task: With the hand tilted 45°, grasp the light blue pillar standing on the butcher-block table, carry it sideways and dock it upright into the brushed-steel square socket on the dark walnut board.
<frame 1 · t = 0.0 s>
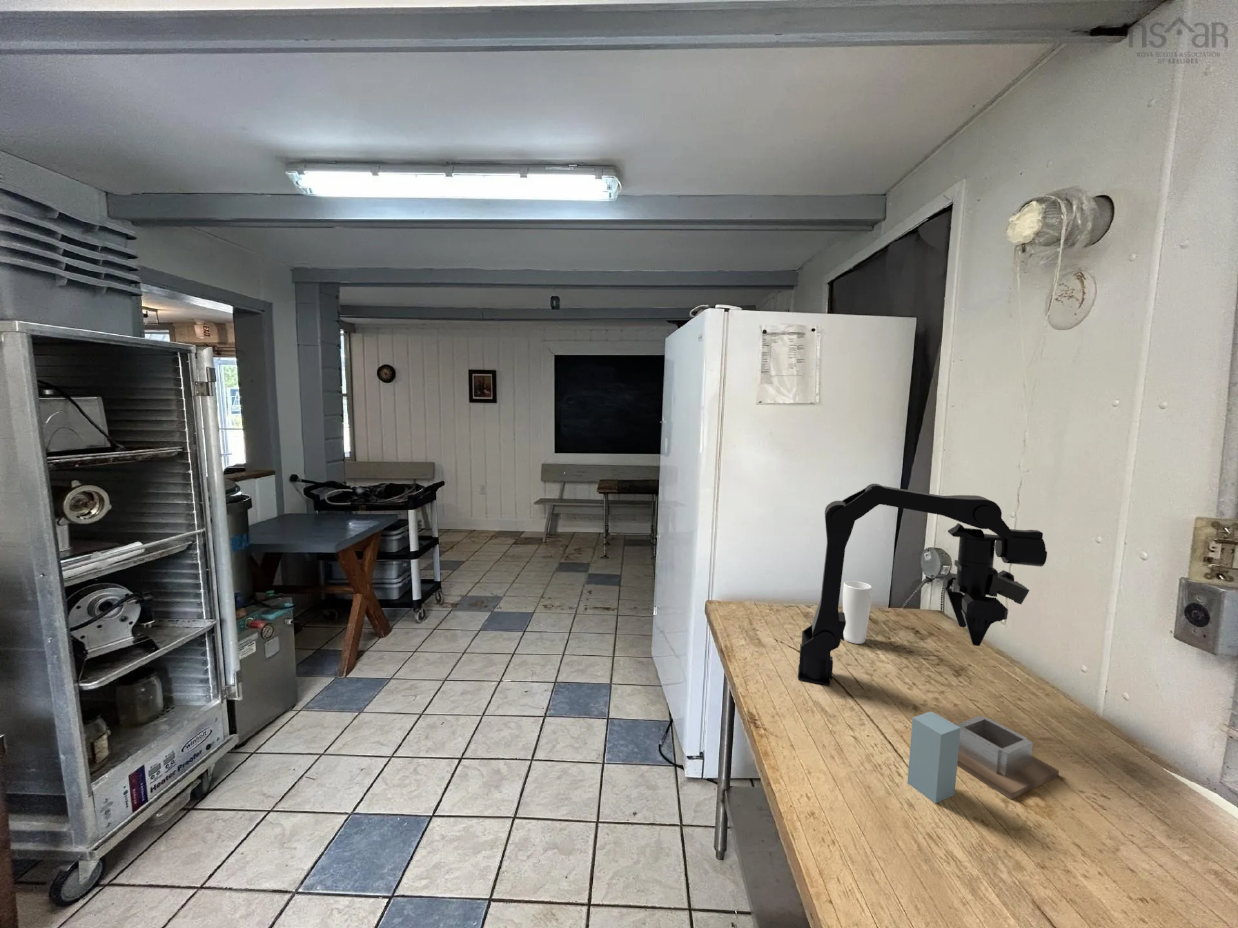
hand: (968, 635, 99), 15 cm above the table, tool pointing down, fingers open, 9 cm apart
docking socket: (990, 760, 83), on the table
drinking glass: (854, 640, 129), on the table
light blue pillar: (930, 788, 77), on the table
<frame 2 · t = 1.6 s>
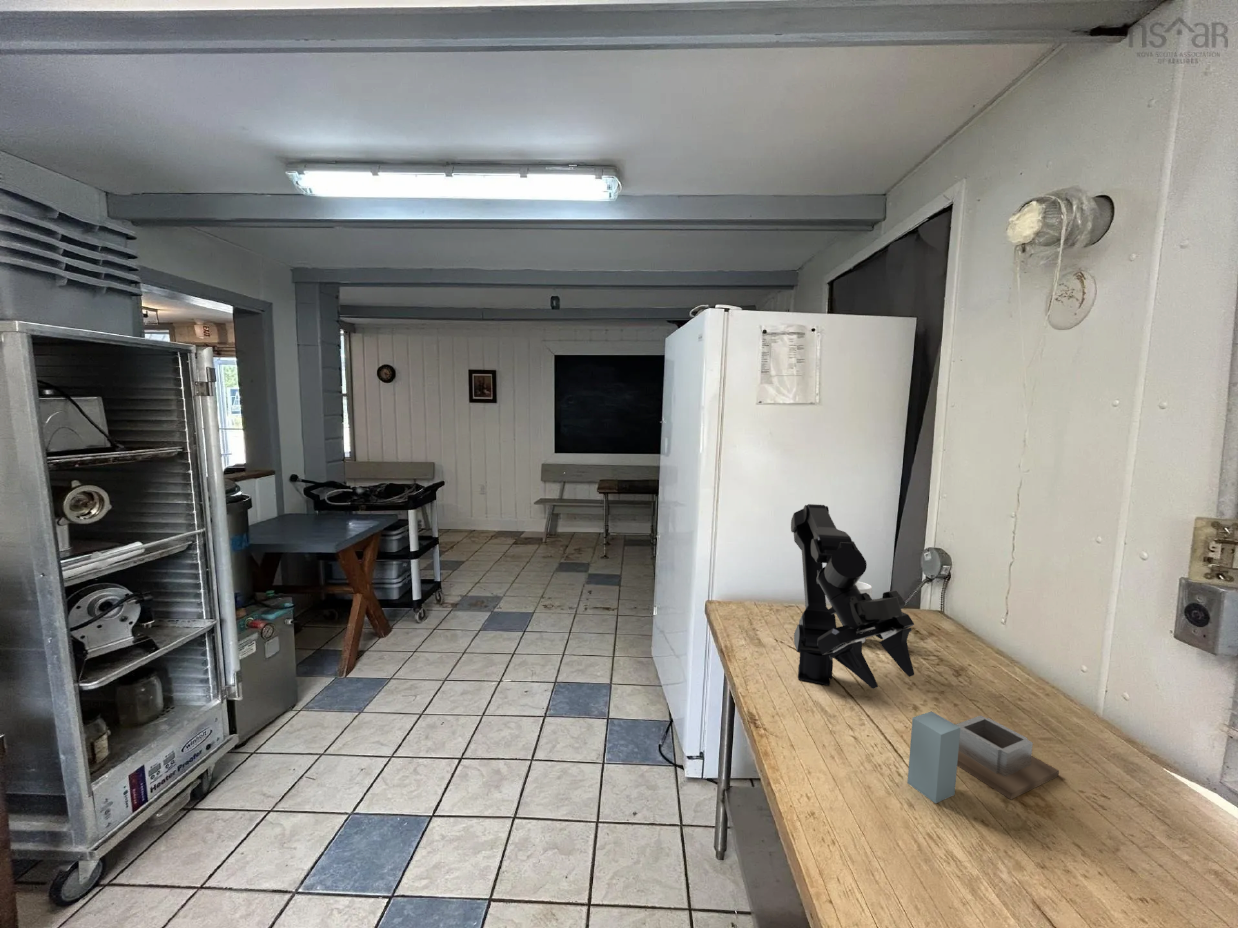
hand: (894, 681, 83), 13 cm above the table, tool tilted 45°, fingers open, 9 cm apart
nothing on the table moved.
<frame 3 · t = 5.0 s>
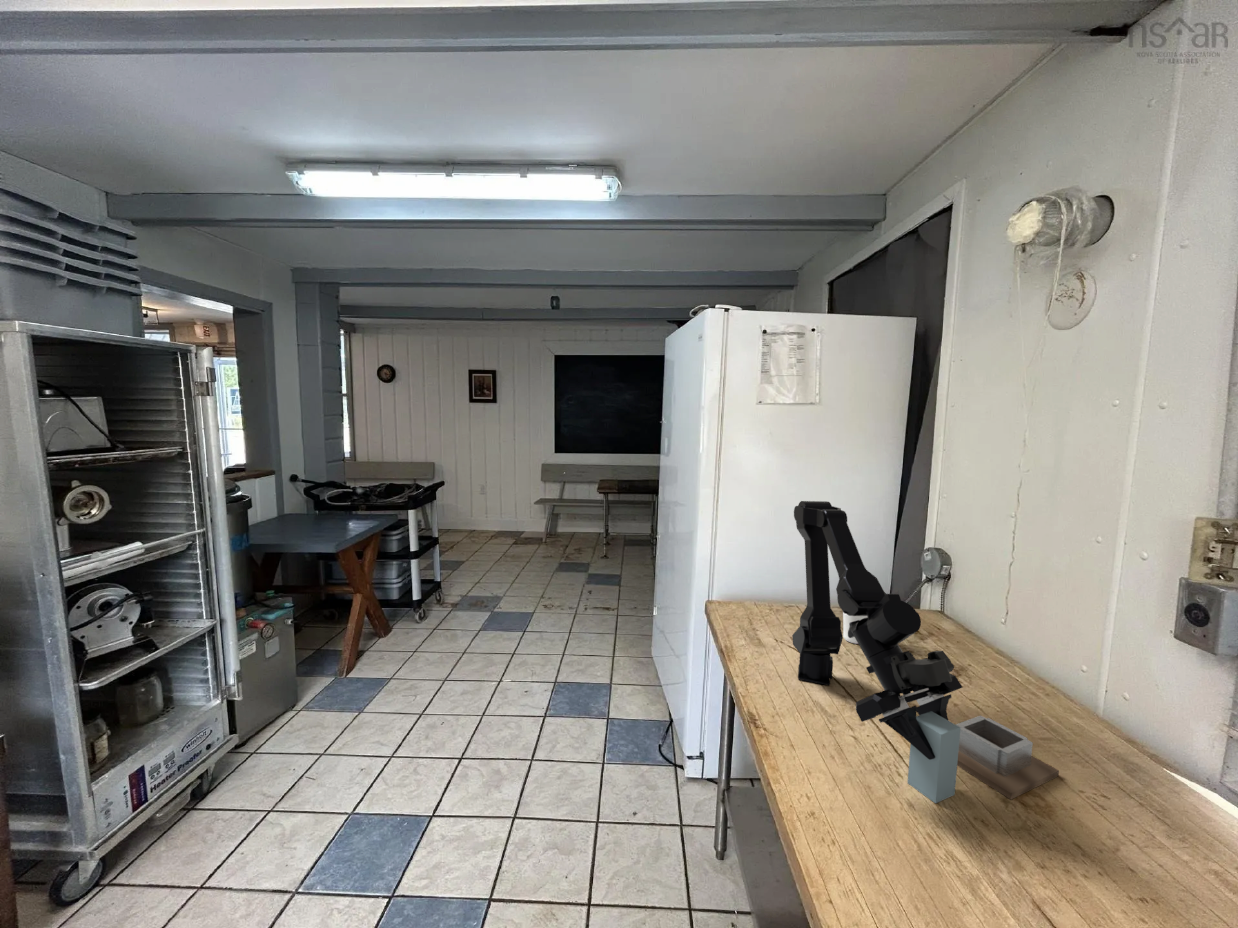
hand: (942, 754, 75), 7 cm above the table, tool tilted 45°, fingers closed on light blue pillar, 4 cm apart
light blue pillar: (930, 788, 77), on the table, touching gripper
everything else where it was.
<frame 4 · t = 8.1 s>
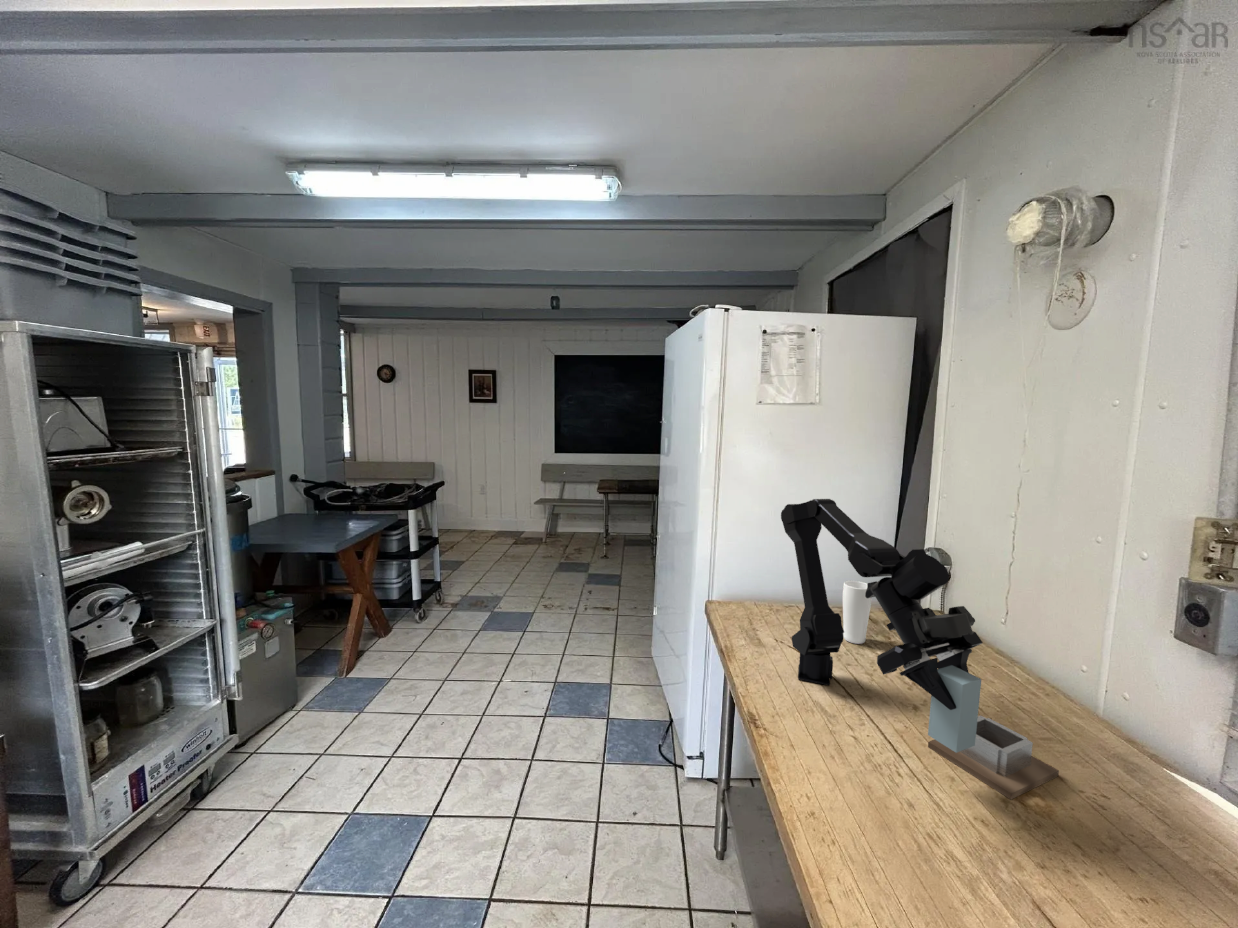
hand: (963, 705, 76), 13 cm above the table, tool tilted 45°, fingers closed on light blue pillar, 4 cm apart
light blue pillar: (951, 740, 78), point 7 cm above the table, touching gripper
everything else where it was.
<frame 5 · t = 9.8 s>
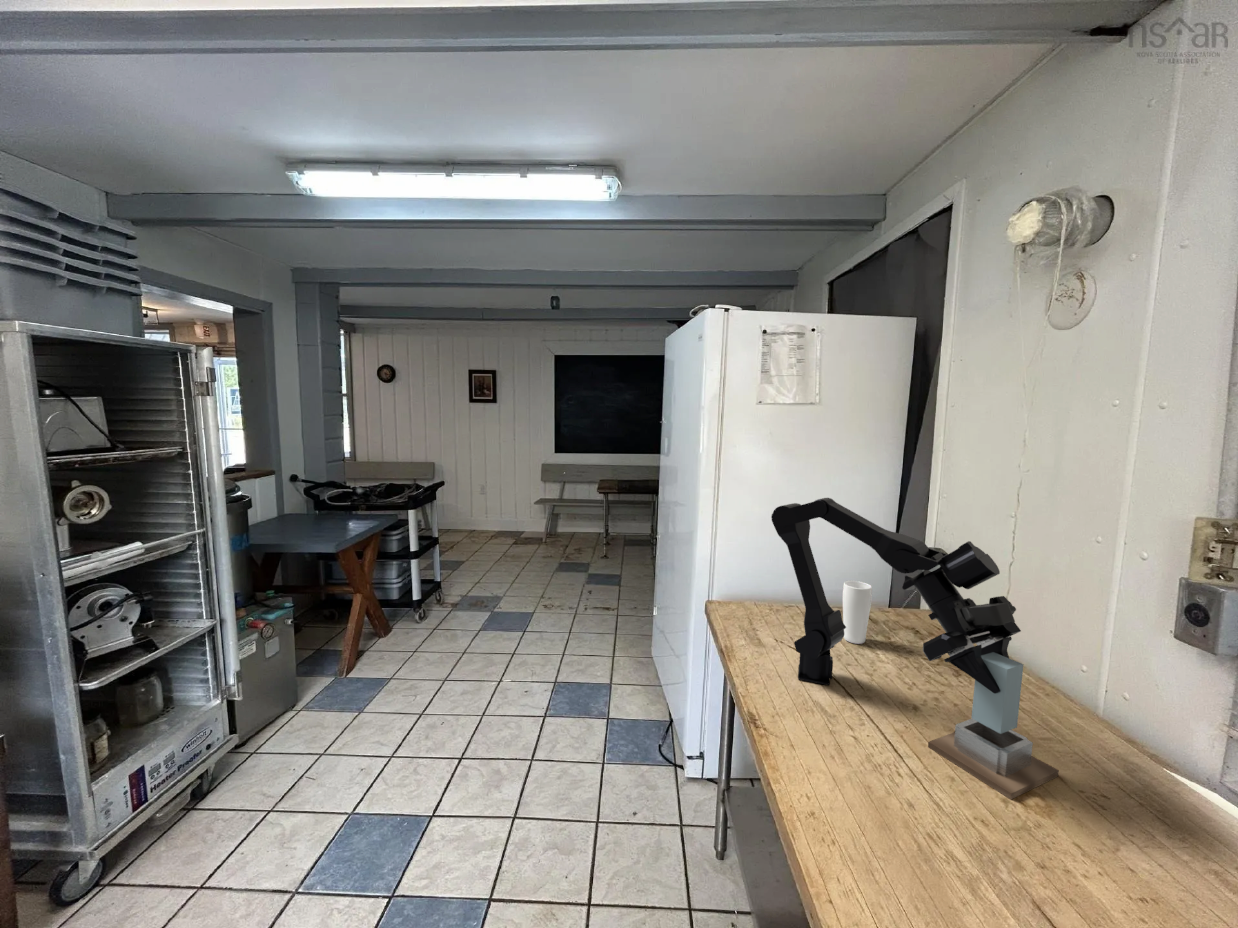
hand: (1006, 689, 81), 14 cm above the table, tool tilted 45°, fingers closed on light blue pillar, 4 cm apart
light blue pillar: (993, 722, 83), point 7 cm above the table, touching gripper
everything else where it was.
when the fingers open (8 cm above the table, at t = 11.3 s): light blue pillar stays where it is, resting on docking socket.
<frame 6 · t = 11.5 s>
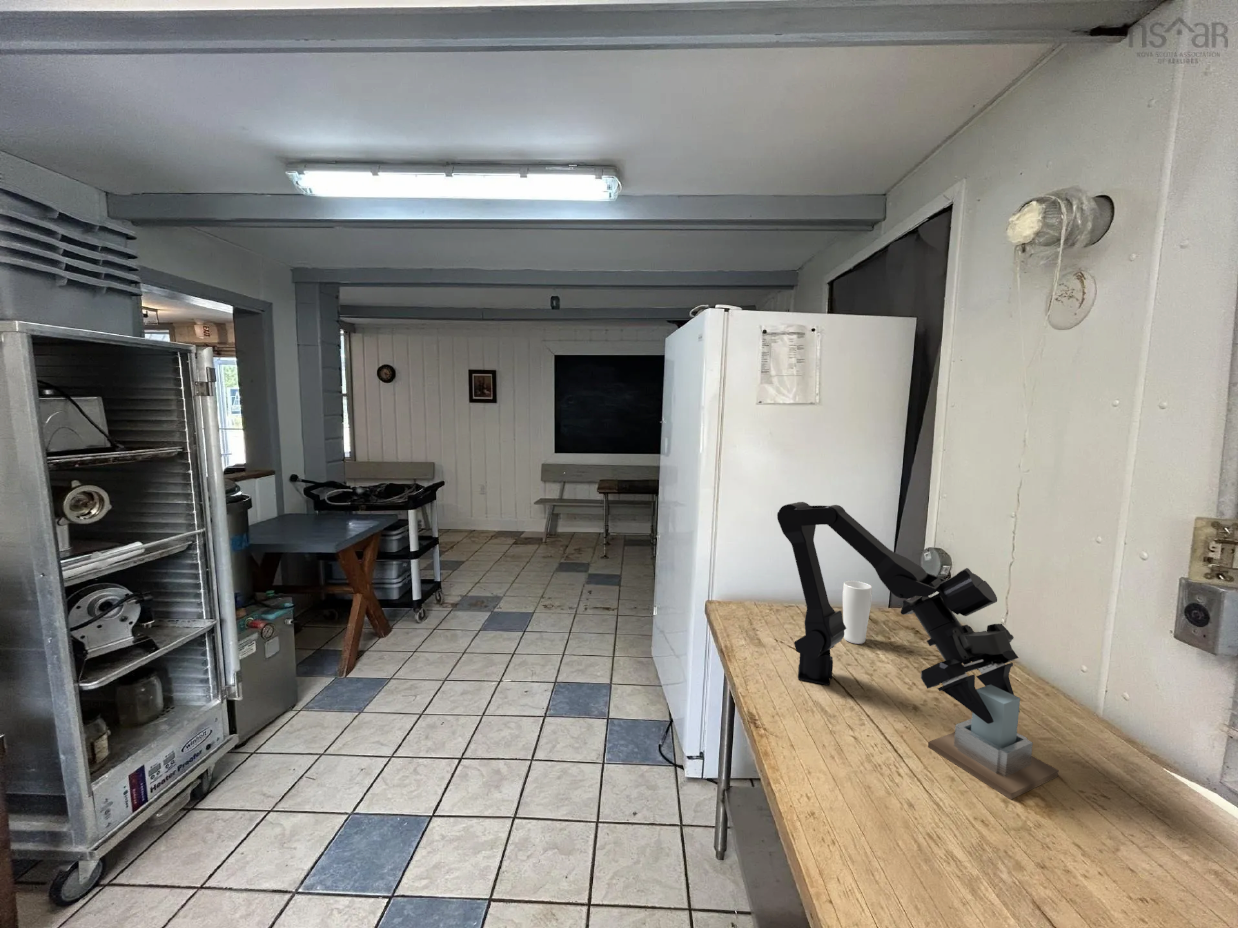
hand: (1004, 717, 81), 9 cm above the table, tool tilted 45°, fingers open, 7 cm apart
light blue pillar: (991, 755, 83), point 1 cm above the table, touching docking socket
everything else where it was.
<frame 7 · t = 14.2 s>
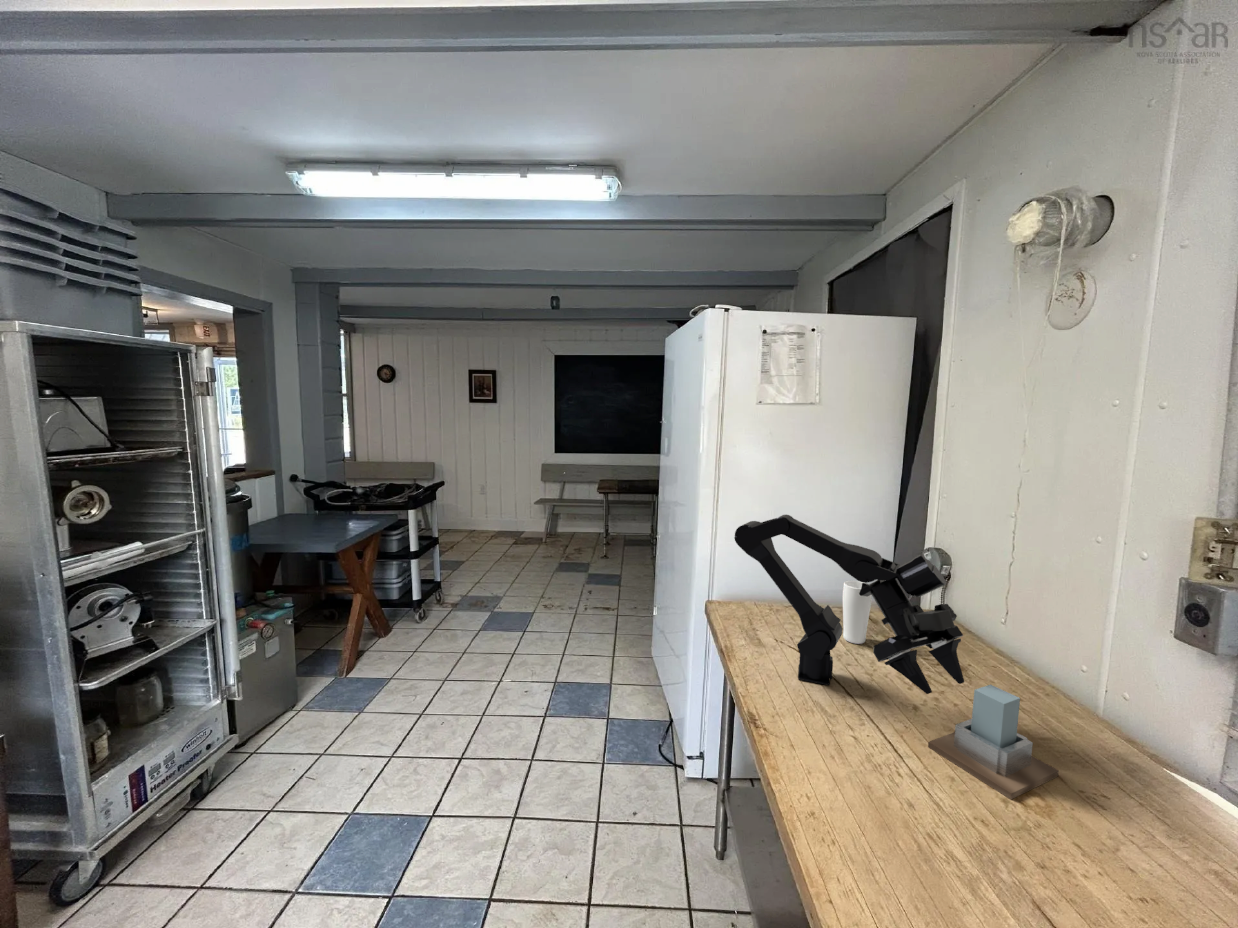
hand: (946, 688, 90), 9 cm above the table, tool tilted 45°, fingers open, 9 cm apart
nothing on the table moved.
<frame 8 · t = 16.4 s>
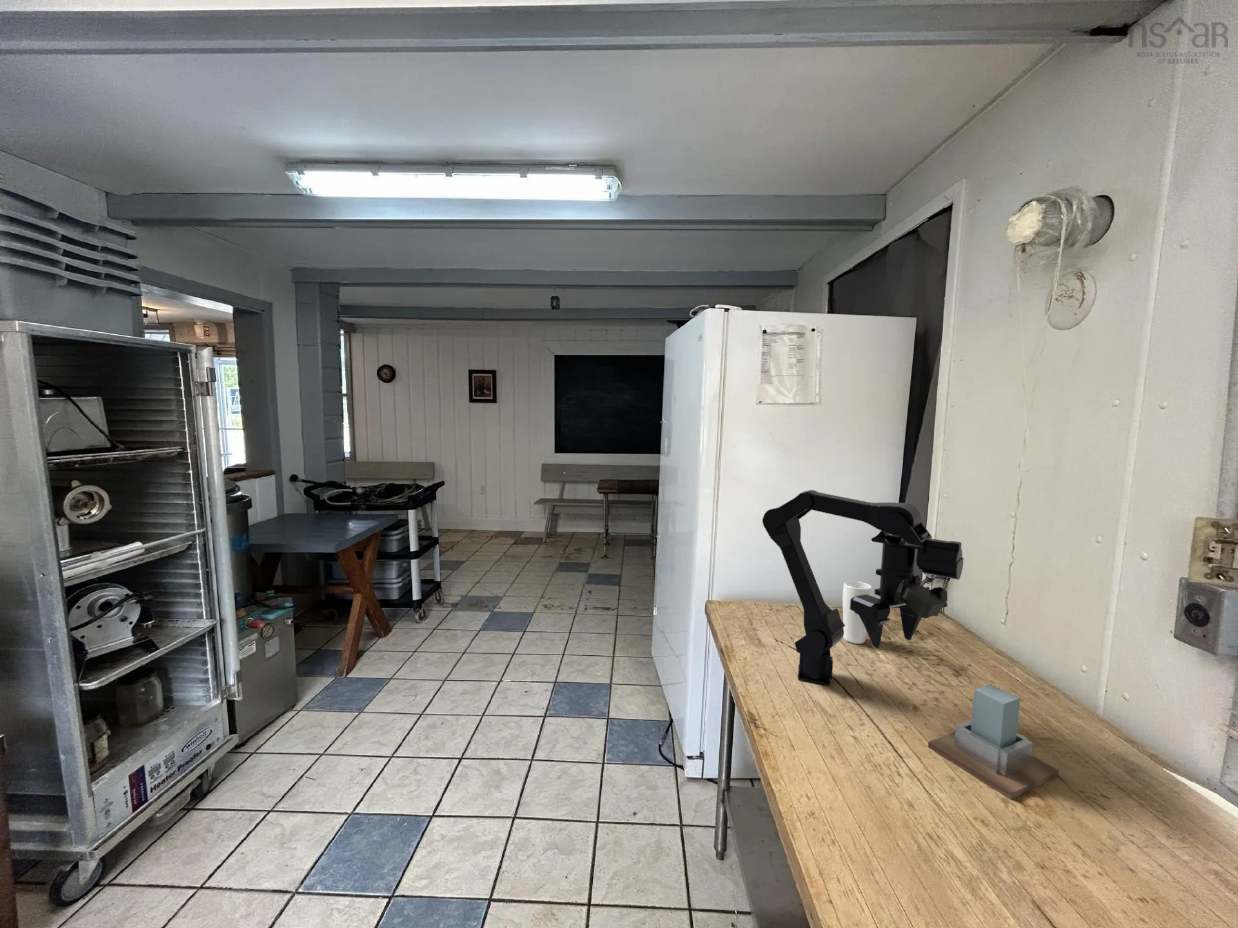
hand: (892, 643, 98), 13 cm above the table, tool pointing down, fingers open, 9 cm apart
nothing on the table moved.
at the end: light blue pillar 0.0 cm off-centre on the docking socket, point 1.0 cm above the docking socket's base; light blue pillar tilted 0°; the gripper is holding nothing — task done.
